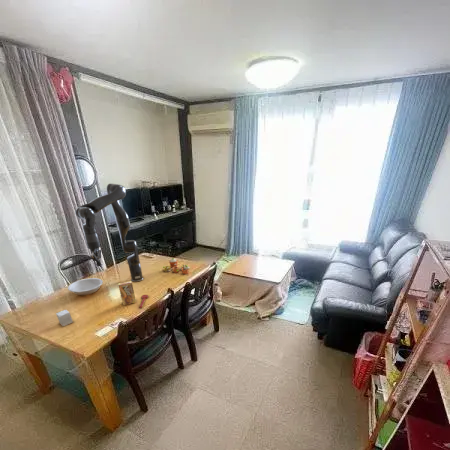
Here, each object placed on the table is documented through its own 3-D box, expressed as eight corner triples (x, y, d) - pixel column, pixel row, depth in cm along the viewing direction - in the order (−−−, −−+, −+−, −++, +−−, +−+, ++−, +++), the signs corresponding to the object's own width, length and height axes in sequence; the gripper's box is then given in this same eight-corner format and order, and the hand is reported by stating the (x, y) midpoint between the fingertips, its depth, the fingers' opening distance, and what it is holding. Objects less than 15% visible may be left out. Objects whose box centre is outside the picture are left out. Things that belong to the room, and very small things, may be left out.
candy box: (135, 299, 184) (131, 280, 176) (136, 302, 181) (132, 282, 173) (122, 302, 180) (117, 283, 173) (123, 305, 177) (118, 285, 170)
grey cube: (73, 322, 160) (69, 312, 156) (62, 326, 156) (58, 316, 152) (69, 318, 163) (65, 309, 160) (59, 323, 159) (55, 313, 156)
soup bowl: (110, 291, 196) (108, 283, 193) (77, 303, 181) (74, 295, 178) (97, 282, 211) (94, 275, 208) (65, 292, 196) (63, 285, 192)
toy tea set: (161, 271, 229) (159, 261, 225) (171, 265, 242) (169, 255, 237) (186, 275, 220) (185, 265, 216) (195, 269, 233) (194, 259, 228)
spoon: (142, 296, 189) (142, 294, 188) (148, 295, 189) (148, 294, 188) (137, 308, 174) (136, 306, 173) (143, 307, 174) (143, 306, 173)
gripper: (94, 243, 156) (101, 269, 165) (102, 237, 168) (108, 262, 176) (81, 243, 156) (89, 269, 164) (90, 237, 167) (97, 262, 176)
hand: (99, 265), depth 170 cm, fingers closed
